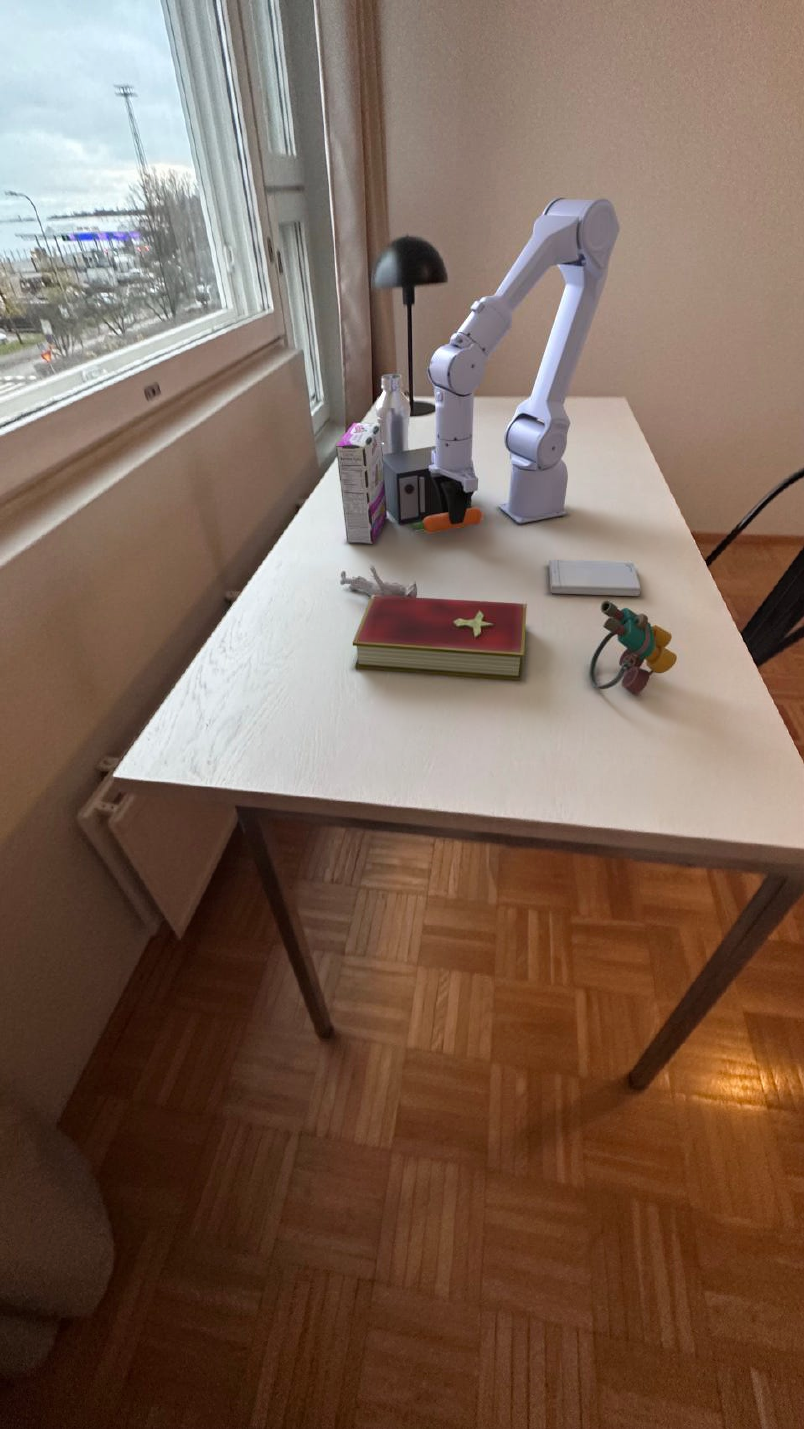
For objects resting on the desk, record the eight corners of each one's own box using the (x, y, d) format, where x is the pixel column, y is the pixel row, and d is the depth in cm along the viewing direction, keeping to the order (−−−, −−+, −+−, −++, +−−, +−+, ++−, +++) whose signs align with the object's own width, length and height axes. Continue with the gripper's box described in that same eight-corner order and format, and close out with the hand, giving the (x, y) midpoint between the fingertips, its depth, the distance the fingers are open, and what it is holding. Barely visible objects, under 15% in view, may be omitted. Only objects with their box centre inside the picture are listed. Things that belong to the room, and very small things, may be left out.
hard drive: (633, 560, 96) (550, 558, 97) (641, 587, 90) (552, 584, 91) (631, 570, 97) (548, 567, 99) (638, 598, 91) (550, 594, 92)
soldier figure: (364, 583, 99) (431, 575, 93) (361, 613, 98) (428, 607, 92) (334, 566, 93) (403, 556, 86) (330, 598, 92) (400, 590, 85)
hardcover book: (374, 617, 90) (372, 591, 87) (524, 627, 86) (527, 600, 84) (355, 668, 81) (352, 641, 78) (521, 680, 78) (524, 652, 75)
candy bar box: (361, 516, 116) (353, 421, 105) (387, 517, 115) (382, 422, 104) (344, 543, 108) (334, 444, 97) (373, 545, 107) (365, 445, 96)
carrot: (478, 519, 110) (478, 503, 108) (484, 525, 108) (485, 509, 106) (410, 532, 107) (409, 516, 105) (416, 538, 105) (415, 522, 103)
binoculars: (620, 717, 75) (687, 664, 69) (560, 679, 73) (622, 621, 66) (615, 670, 82) (674, 617, 75) (559, 634, 80) (615, 577, 73)
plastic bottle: (374, 492, 124) (367, 380, 111) (388, 479, 128) (382, 371, 115) (405, 496, 122) (401, 382, 109) (417, 483, 126) (415, 372, 113)
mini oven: (473, 512, 115) (474, 462, 109) (400, 526, 112) (398, 475, 106) (450, 491, 123) (450, 443, 117) (381, 503, 120) (378, 455, 114)
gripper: (413, 425, 102) (415, 506, 111) (448, 453, 91) (447, 541, 100) (454, 419, 103) (452, 500, 112) (492, 446, 93) (487, 533, 102)
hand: (452, 518), depth 106 cm, fingers closed on carrot, 3 cm apart
